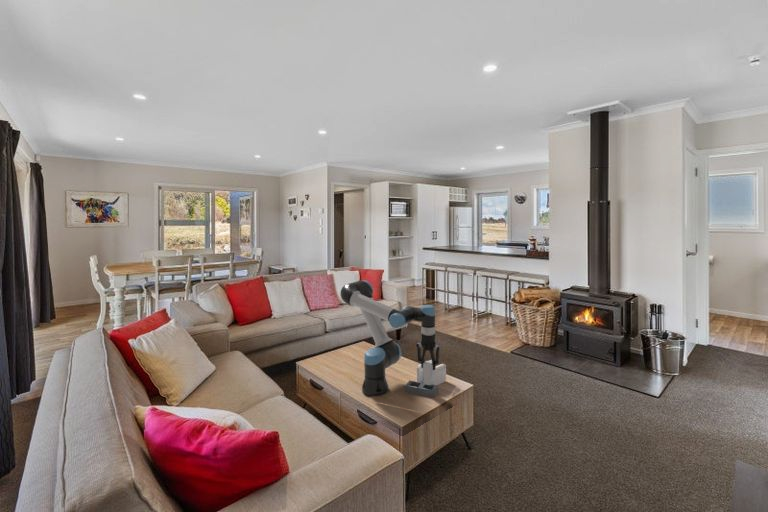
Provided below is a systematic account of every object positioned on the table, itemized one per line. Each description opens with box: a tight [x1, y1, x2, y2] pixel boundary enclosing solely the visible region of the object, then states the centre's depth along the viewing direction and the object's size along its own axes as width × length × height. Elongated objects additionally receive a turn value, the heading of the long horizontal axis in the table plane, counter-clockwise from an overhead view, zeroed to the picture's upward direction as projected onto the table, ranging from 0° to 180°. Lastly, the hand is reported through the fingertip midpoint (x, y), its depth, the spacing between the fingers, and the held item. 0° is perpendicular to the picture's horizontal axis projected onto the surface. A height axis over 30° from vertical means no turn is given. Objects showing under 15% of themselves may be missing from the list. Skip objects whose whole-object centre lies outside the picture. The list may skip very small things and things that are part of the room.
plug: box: [423, 360, 433, 385], centre depth 204 cm, size 4×5×12 cm
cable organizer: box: [416, 359, 447, 386], centre depth 217 cm, size 15×11×12 cm
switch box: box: [404, 380, 439, 398], centre depth 207 cm, size 17×7×4 cm, turn 65°
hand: (428, 374), depth 204 cm, fingers closed on plug, 4 cm apart
